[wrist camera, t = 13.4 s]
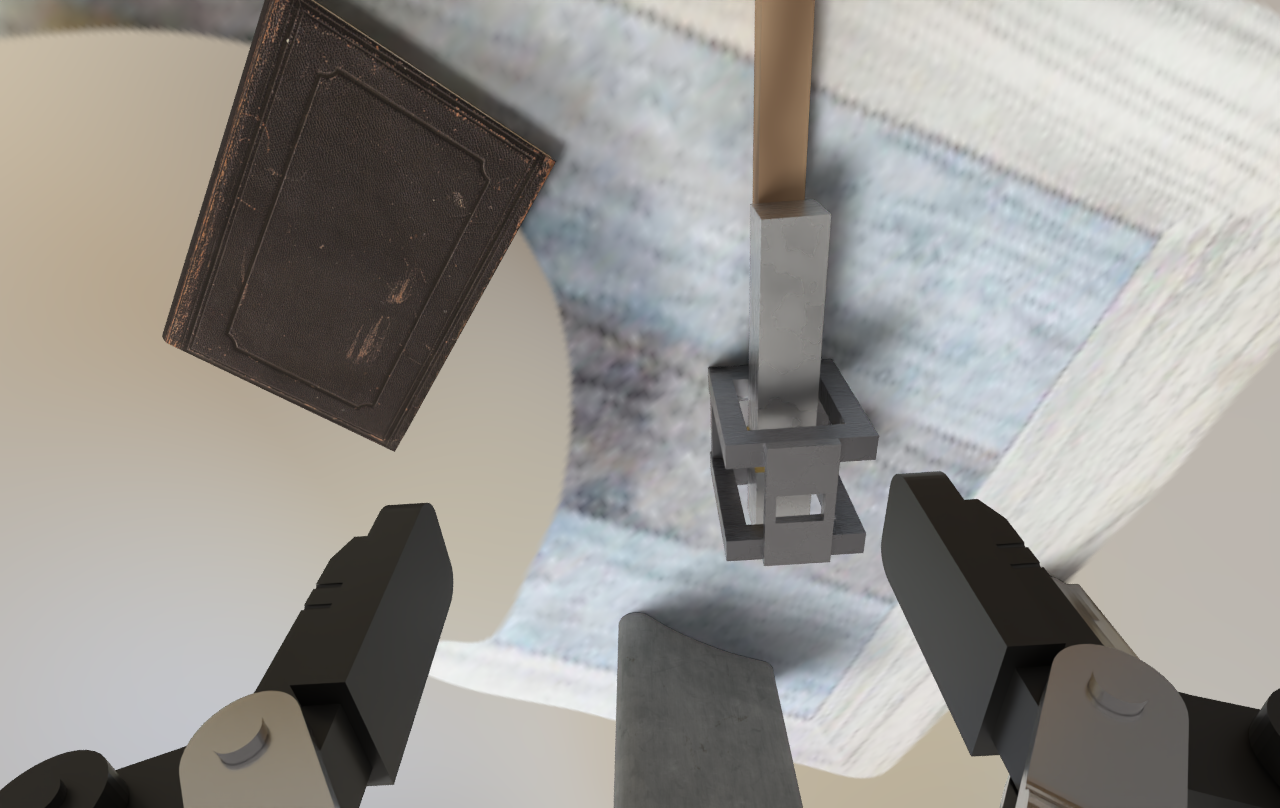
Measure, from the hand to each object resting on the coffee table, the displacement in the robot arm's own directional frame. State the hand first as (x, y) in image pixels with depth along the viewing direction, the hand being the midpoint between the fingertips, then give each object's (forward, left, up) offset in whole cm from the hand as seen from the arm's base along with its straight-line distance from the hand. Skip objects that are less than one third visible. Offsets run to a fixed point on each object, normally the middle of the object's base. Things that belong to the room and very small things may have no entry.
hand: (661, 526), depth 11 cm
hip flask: (-2, +41, -31) cm, 51 cm away
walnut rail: (-8, -1, -30) cm, 31 cm away
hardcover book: (+18, +2, -31) cm, 36 cm away
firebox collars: (-8, +17, -30) cm, 35 cm away
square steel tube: (-8, +12, -28) cm, 32 cm away
